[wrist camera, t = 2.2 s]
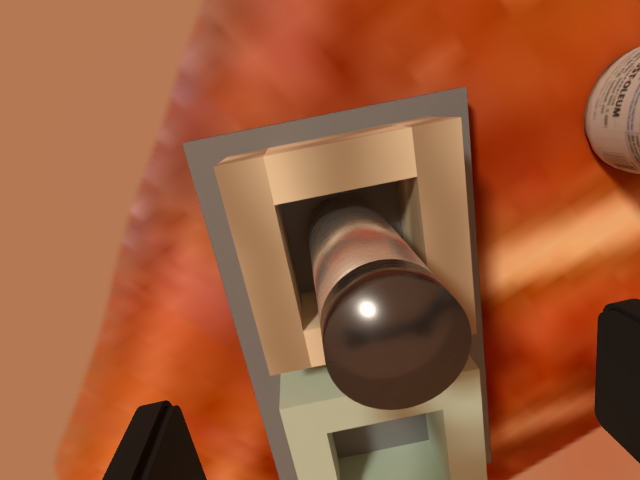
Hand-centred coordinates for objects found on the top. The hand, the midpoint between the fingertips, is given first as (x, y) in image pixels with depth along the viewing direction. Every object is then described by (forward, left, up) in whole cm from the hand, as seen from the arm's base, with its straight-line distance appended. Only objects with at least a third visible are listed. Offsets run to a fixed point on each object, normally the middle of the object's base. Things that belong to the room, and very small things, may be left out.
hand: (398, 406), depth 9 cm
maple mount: (-1, 0, -13) cm, 13 cm away
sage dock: (-1, +12, -13) cm, 18 cm away
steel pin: (-1, 0, -13) cm, 13 cm away
